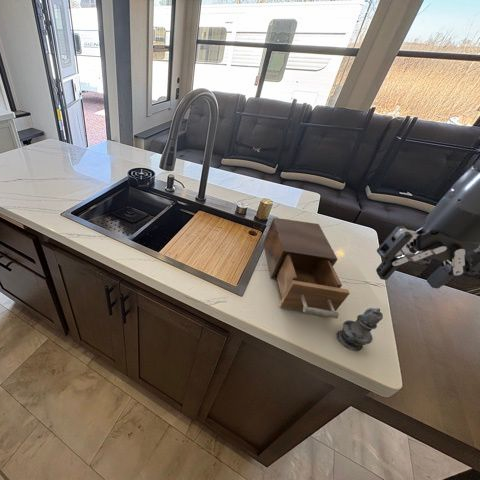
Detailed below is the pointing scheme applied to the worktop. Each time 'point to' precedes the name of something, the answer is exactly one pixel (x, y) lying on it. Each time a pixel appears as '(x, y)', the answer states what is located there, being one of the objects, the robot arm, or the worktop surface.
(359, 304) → the worktop surface
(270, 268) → the cabinet
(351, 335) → the dark grey chess piece
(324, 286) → the open wooden drawer
